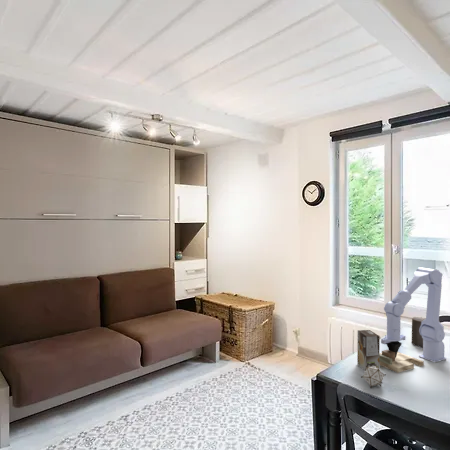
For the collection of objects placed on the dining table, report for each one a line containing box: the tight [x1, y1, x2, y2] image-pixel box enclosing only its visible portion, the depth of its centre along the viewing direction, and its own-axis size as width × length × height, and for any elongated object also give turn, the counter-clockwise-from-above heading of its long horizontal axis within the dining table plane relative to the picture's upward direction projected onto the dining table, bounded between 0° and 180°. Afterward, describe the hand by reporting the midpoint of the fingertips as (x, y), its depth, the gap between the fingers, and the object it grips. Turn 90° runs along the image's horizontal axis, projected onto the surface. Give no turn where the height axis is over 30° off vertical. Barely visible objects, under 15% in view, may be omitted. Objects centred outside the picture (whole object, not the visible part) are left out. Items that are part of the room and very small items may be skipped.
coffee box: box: [356, 329, 381, 372], centre depth 158 cm, size 9×6×16 cm
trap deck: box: [379, 351, 425, 373], centre depth 164 cm, size 18×16×4 cm
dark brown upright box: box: [411, 316, 426, 348], centre depth 190 cm, size 10×10×15 cm
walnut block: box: [381, 349, 395, 362], centre depth 162 cm, size 4×4×4 cm
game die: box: [360, 364, 387, 389], centre depth 140 cm, size 9×8×10 cm
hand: (393, 357), depth 164 cm, fingers closed
